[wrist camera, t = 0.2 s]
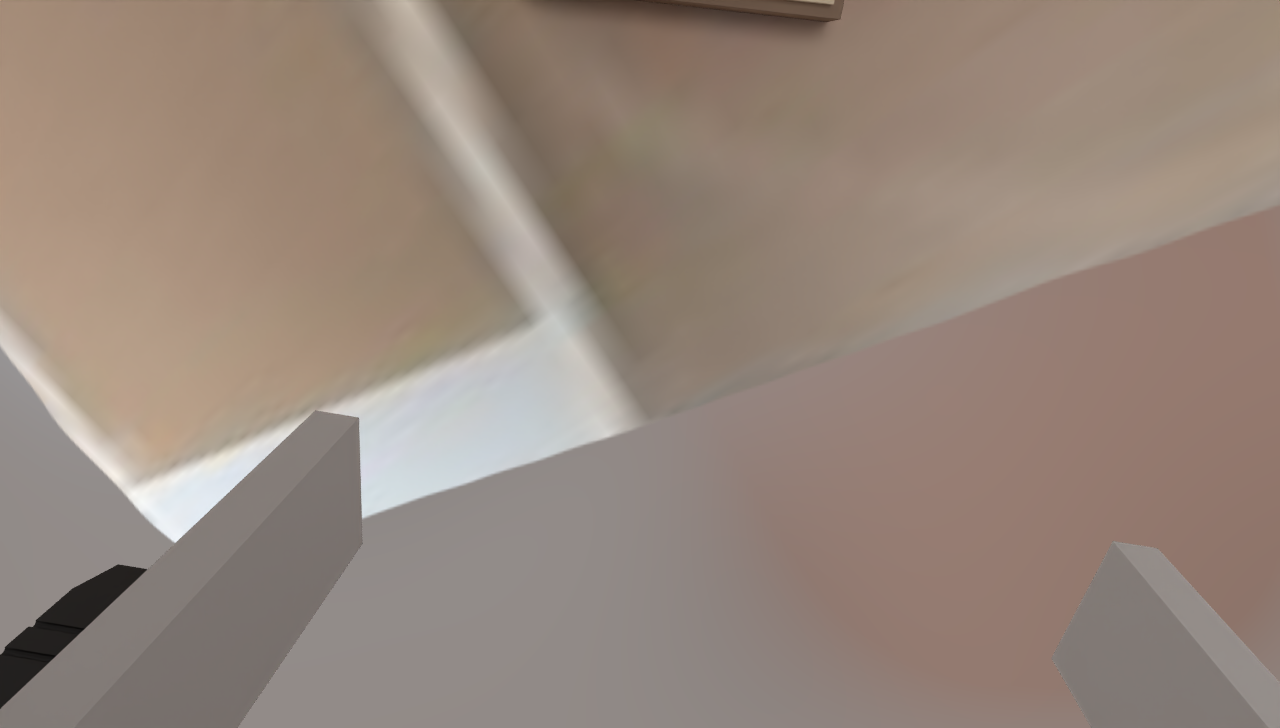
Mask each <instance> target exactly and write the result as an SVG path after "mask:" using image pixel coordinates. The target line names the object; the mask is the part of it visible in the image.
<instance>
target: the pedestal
mask: <svg viewBox="0 0 1280 728" xmlns="http://www.w3.org/2000/svg"><path fill="white" fill-rule="evenodd" d="M639 1H648V2H656V3H665V4H674V5H683V6H692V7H701V8H709V9H718V10H727V11H736V12H745V13H754V14H762V15H771V16H780V17H789V18H798V19H807V20H815V21H824V22H829V21H834V20H839V19H841V14H842V9H843V4H844V0H639Z"/></svg>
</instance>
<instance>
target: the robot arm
mask: <svg viewBox="0 0 1280 728" xmlns="http://www.w3.org/2000/svg"><path fill="white" fill-rule="evenodd" d="M361 545H362V511H361V476H360V441H359V418H358V417H352V416H345V415H339V414H333V413H327V412H321V411H315V412H313V413H312V414H311V415H310V416H309V417H308V418H307V419H306V420H305V421H304V422H303V423H302V424H301V425H300V426H299V427H298V428H297V429H295V430H294V431H293V432H292V433H291V434H290V435H289V436H288V437H287V438H286V439H285V440H284V441H283V442H282V443H281V444H280V445H279V446H278V447H276V448H275V449H274V450H273V451H272V452H271V453H270V454H269V455H268V456H267V457H266V458H265V459H264V460H263V461H262V462H261V463H260V464H259V465H257V466H256V467H255V468H254V469H253V470H252V471H251V472H250V473H249V474H248V475H247V476H246V477H245V478H244V479H243V480H242V481H241V482H239V483H238V484H237V485H236V486H235V487H234V488H233V489H232V490H231V491H230V492H229V493H228V494H227V495H226V496H225V497H224V498H223V499H222V500H220V501H219V502H218V503H217V504H216V505H215V506H214V507H213V508H212V509H211V510H210V511H209V512H208V513H207V514H206V515H205V516H204V517H203V518H201V519H200V520H199V521H198V522H197V523H196V524H195V525H194V526H193V527H192V528H191V529H190V530H189V531H188V532H187V533H186V534H185V535H183V536H182V537H181V538H180V539H179V540H178V541H177V542H176V543H175V544H174V545H173V546H172V547H171V548H170V549H169V550H168V551H167V552H166V553H165V554H164V555H162V556H161V557H160V558H159V559H158V560H157V561H156V562H155V563H154V564H153V565H152V566H151V567H150V568H149V569H142V568H136V567H130V566H124V565H116V566H115V567H113V568H111V569H109V570H107V571H105V572H103V573H101V574H99V575H98V576H96V577H94V578H92V579H90V580H88V581H86V582H84V583H82V584H80V585H79V586H77V587H75V588H73V589H72V590H70V591H69V592H68V593H67V594H66V595H65V596H63V597H62V598H61V599H60V600H59V601H58V602H56V603H55V604H54V605H53V606H52V607H51V608H50V609H48V610H47V611H46V612H45V613H44V614H43V615H42V616H41V617H39V618H38V619H37V620H36V623H35V625H34V626H33V627H28V628H26V629H25V630H24V631H23V632H22V633H21V634H20V635H18V636H17V637H16V638H15V639H14V640H13V641H11V642H10V643H9V644H8V645H7V646H6V647H5V650H4V652H3V653H2V654H1V655H0V728H238V726H239V725H240V723H241V722H242V720H243V719H244V718H245V716H246V714H247V713H248V712H249V710H250V709H251V707H252V706H253V704H254V703H255V701H256V700H257V698H258V696H259V695H260V694H261V693H262V691H263V690H264V688H265V687H266V685H267V684H268V682H269V681H270V679H271V678H272V676H273V675H274V673H275V672H276V670H277V669H278V667H279V666H280V664H281V663H282V662H283V660H284V659H285V657H286V656H287V654H288V653H289V651H290V650H291V648H292V647H293V645H294V644H295V642H296V641H297V639H298V638H299V637H300V635H301V634H302V632H303V631H304V629H305V628H306V626H307V625H308V623H309V622H310V620H311V619H312V617H313V616H314V615H315V613H316V611H317V610H318V609H319V607H320V606H321V604H322V603H323V601H324V600H325V598H326V597H327V595H328V594H329V592H330V591H331V589H332V588H333V587H334V585H335V584H336V582H337V581H338V579H339V578H340V576H341V575H342V573H343V572H344V570H345V569H346V567H347V566H348V564H349V563H350V561H351V560H352V559H353V557H354V555H355V554H356V553H357V551H358V549H359V548H360V547H361ZM1052 660H1053V662H1054V664H1055V665H1056V667H1057V669H1058V671H1059V672H1060V674H1061V676H1062V677H1063V679H1064V681H1065V683H1066V685H1067V686H1068V688H1069V690H1070V692H1071V693H1072V695H1073V697H1074V698H1075V700H1076V702H1077V704H1078V705H1079V707H1080V709H1081V711H1082V712H1083V714H1084V716H1085V718H1086V719H1087V721H1088V723H1089V725H1090V726H1091V728H1280V682H1279V681H1278V680H1277V679H1276V678H1275V677H1274V676H1273V675H1272V674H1271V672H1270V671H1269V670H1268V669H1267V668H1266V667H1265V666H1264V665H1263V664H1262V663H1261V661H1260V660H1259V659H1258V658H1257V657H1256V656H1255V655H1254V654H1253V653H1252V652H1251V651H1250V650H1249V648H1248V647H1247V646H1246V645H1245V644H1244V643H1243V642H1242V641H1241V640H1240V639H1239V637H1238V636H1237V635H1236V634H1235V633H1234V632H1233V631H1232V630H1231V629H1230V627H1229V626H1228V625H1227V624H1226V623H1225V622H1224V621H1223V620H1222V619H1221V618H1220V616H1219V615H1218V614H1217V613H1216V612H1215V611H1214V610H1213V609H1212V608H1211V607H1210V605H1208V603H1207V602H1206V601H1205V600H1204V599H1203V598H1202V597H1201V596H1200V594H1199V593H1198V592H1197V591H1196V590H1195V589H1194V588H1193V587H1192V586H1191V585H1190V584H1189V583H1188V581H1187V580H1186V579H1185V578H1184V577H1183V576H1182V575H1181V574H1180V573H1179V571H1178V570H1177V569H1176V568H1175V567H1174V566H1173V565H1172V564H1171V563H1170V561H1169V560H1168V559H1167V558H1166V557H1165V556H1164V555H1163V554H1162V553H1161V552H1160V551H1159V549H1158V548H1152V547H1146V546H1139V545H1134V544H1127V543H1121V542H1115V541H1113V542H1112V544H1111V546H1110V548H1109V550H1108V552H1107V554H1106V556H1105V557H1104V559H1103V561H1102V563H1101V565H1100V567H1099V569H1098V571H1097V572H1096V574H1095V577H1094V578H1093V580H1092V582H1091V584H1090V586H1089V588H1088V590H1087V592H1086V594H1085V595H1084V597H1083V599H1082V601H1081V603H1080V605H1079V607H1078V609H1077V611H1076V613H1075V614H1074V616H1073V618H1072V620H1071V622H1070V624H1069V626H1068V628H1067V630H1066V631H1065V633H1064V635H1063V637H1062V639H1061V641H1060V643H1059V645H1058V647H1057V649H1056V651H1055V652H1054V655H1053V656H1052Z"/></svg>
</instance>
